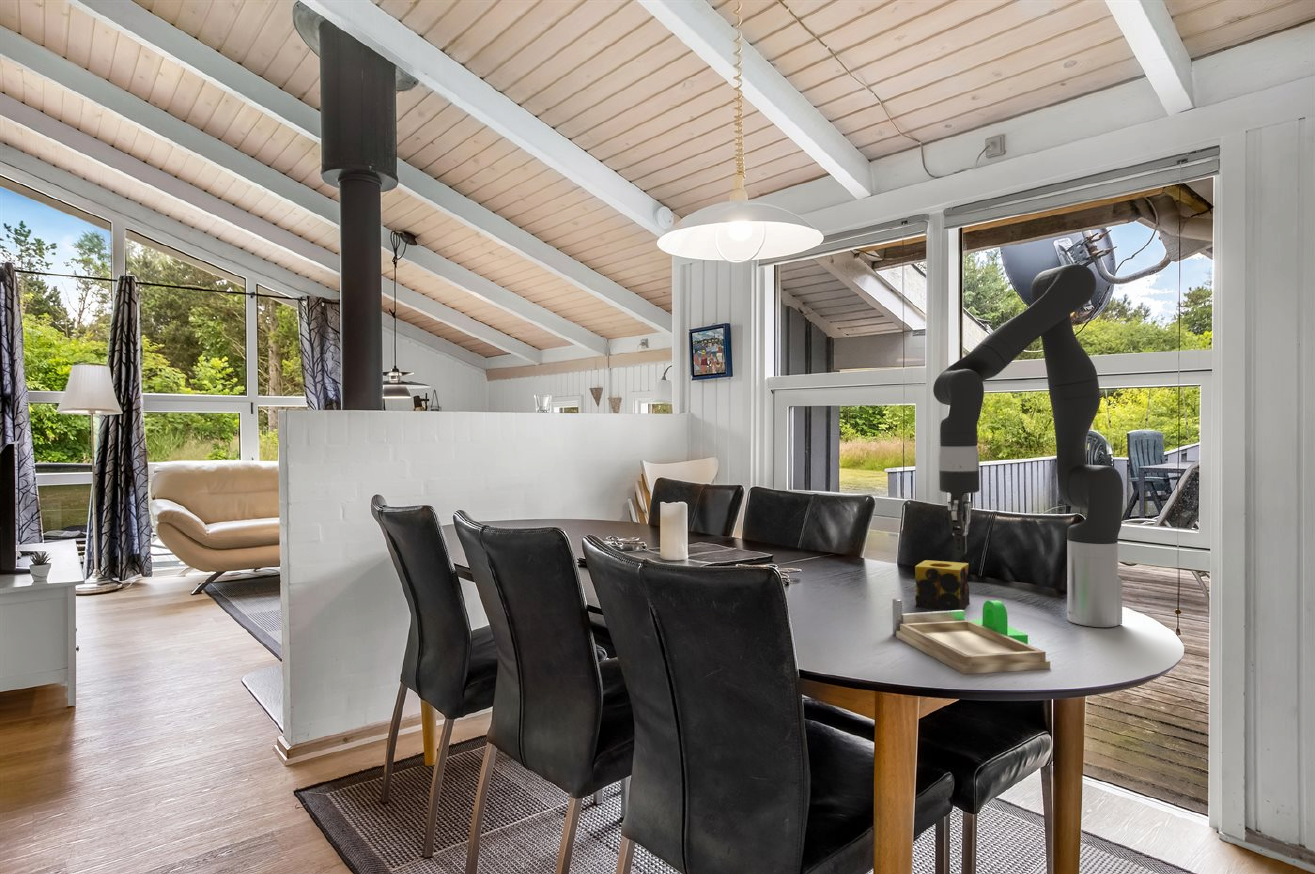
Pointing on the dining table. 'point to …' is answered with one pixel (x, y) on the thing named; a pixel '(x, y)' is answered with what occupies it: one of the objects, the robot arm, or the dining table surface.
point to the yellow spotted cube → (942, 585)
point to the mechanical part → (999, 621)
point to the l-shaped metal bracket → (922, 616)
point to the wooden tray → (972, 647)
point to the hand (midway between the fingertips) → (960, 553)
